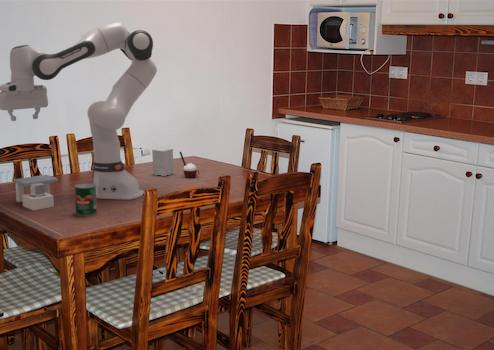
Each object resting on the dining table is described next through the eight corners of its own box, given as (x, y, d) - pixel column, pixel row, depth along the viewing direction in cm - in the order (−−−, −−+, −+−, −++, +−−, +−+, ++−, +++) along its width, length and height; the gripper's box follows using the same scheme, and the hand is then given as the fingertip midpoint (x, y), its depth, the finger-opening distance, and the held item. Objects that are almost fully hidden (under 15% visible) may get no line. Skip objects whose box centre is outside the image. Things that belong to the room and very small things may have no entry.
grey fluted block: (173, 174, 322) (173, 148, 320) (164, 177, 316) (163, 151, 314) (162, 172, 326) (161, 147, 324) (152, 175, 320) (151, 149, 317)
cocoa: (200, 177, 317) (202, 153, 315) (192, 179, 312) (194, 154, 309) (185, 174, 322) (186, 150, 320) (177, 176, 317) (178, 151, 314)
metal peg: (45, 206, 262) (44, 184, 260) (36, 208, 259) (34, 185, 257) (41, 204, 264) (39, 182, 263) (31, 206, 262) (30, 184, 260)
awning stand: (69, 203, 266) (68, 182, 264) (32, 210, 256) (31, 187, 254) (47, 195, 279) (46, 174, 277) (12, 201, 269) (10, 179, 267)
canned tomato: (77, 216, 248) (76, 188, 245) (74, 211, 255) (72, 183, 252) (98, 214, 251) (97, 186, 248) (94, 209, 258) (93, 182, 256)
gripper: (42, 84, 277) (44, 117, 280) (-5, 86, 263) (-3, 121, 266) (50, 85, 273) (51, 118, 276) (2, 87, 259) (4, 122, 262)
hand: (24, 119), depth 271 cm, fingers open, 8 cm apart
